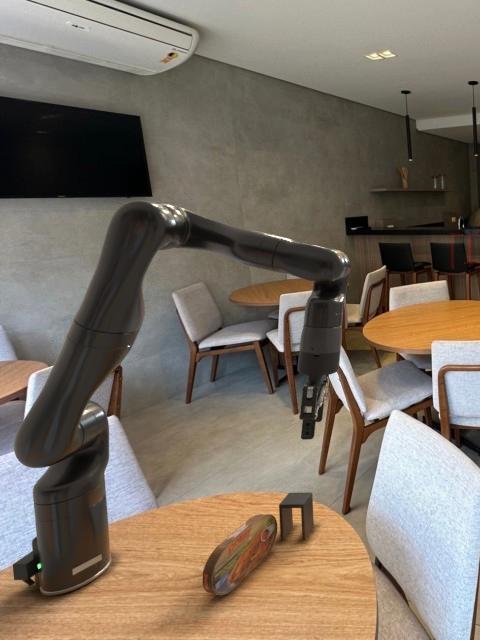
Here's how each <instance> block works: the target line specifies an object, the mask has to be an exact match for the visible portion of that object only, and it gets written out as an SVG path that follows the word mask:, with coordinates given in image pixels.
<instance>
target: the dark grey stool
mask: <svg viewBox="0 0 480 640" xmlns="http://www.w3.org/2000/svg"><path fill="white" fill-rule="evenodd" d="M313 497H314V496H313V492H310V491H309V492H288V493H287V494H286V496H284V498H283V499H282V501H280V502H279V504H278V514H279V533H280V535H279V537H280V541H281V542H283V541H285V540H286V538H287V536H288V535H289V533H290V532H291V531H292V530H293V528H294V520H293V509H300V515H301V516H300V518H301V519H300V520H301V539H302V541H306V539H308V536H309V535H310V533H311V532H312V530H313V529H314V528H315V527H314V526H315V525H314V523H315V522H314V499H313Z"/></svg>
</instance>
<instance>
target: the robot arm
mask: <svg viewBox="0 0 480 640" xmlns="http://www.w3.org/2000/svg"><path fill="white" fill-rule="evenodd" d="M171 249H185V250H198V251H204V252H207V253H208V252H209V253H213V254H217V255H220V256H223V257H226V258H228V259H231V260H233V261H235V262H237V263H239V264H243V265H246V266H249V267H251V268H257V269H261V270H266V271H270V272H275V273H281V274H287V275H290V276H293V277H296V278H300V279H302V280H306V281H309V282H313V284H312V289H311V293H310V296H309V297H308V298H307V300H306V303H305V309H304V317H303V326H302V331H301V333H300V340H299V350H298V359H297V369H296V370H297V372H298V373H299V374H300V375H304V376H305V375H306V376H307V377H308V378H307V380H306V382H304V385H303V387H302V395H301V404H300V411H299V412H300V413H299V416H298V417H299V420H301V421H302V423H301V432H300V439H301V440H313V439H314V437H315V433H316V426H317V425H316V424H317V423H321V422H322V421H323V417H324V408H325V403H326V401H327V396H329V395H328V392H329V384H330V378H329V376H330V375H334V374H335V373H337V372H338V371H339V370H340V361H341V360H340V359H341V350H342V343H343V342H342V340H343V319H344V318H343V317H344V304H345V299H346V294H347V290H348V285H349V281H350V276H351V261H350V258H349V256H348V255H347V254H346V253H345V252H344V251H342V250H340V249H337V248H331V247H326V246H319V245H315V244H309V243H304V242H299V241H298V240H296V239H293V238H289V237H286V236H281V235H277V234H274V233H268V232H264V231H260V230H255V229H250V228H245V227H241V226H235V225H231V224H227V223H224V222H221V221H219V220H218V221H217V220H214V219H211V218H209V217H206V216H204V215H201V214H198V213H197V212H193V211H191V210H188V209H186V208H184V207H181V206H180V205H176V204H175V203H171V202H167V201H160V200H159V201H158V200H146V199H137V200H130V201H127V202H126V203H123V204H122V205H120V206H119V207H118V208H117V209H116V210H115V212H113V214H112V216H111V218H110V220H109V223H108V226H107V229H106V232H105V236H104V240H103V243H102V246H101V251H100V254H99V257H98V261H97V264H96V267H95V270H94V272H93V275H92V277H91V279H90V281H89V284H88V287H87V288H86V291H85V294H84V297H83V299H82V301H81V303H80V305H79V307H78V309H77V310H76V313H75V315H74V317H73V319H72V321H71V324H70V327H69V328H68V332H67V333H66V335H65V338H64V341H63V344H62V346H61V349H60V351H59V353H58V355H57V356H56V359H55V361H54V363H53V365H52V368H51V369H50V372H49V374H48V376H47V379H46V381H45V383H44V385H43V387H42V389H41V391H40V392H39V394H38V396H37V397H36V399H35V401H34V402H33V404H32V405H31V408H30V409H29V411H28V412H27V413H26V415H25V416H24V419H23V420H22V422H21V424H20V425H19V428H18V429H17V431H16V434H15V436H14V439H13V452H14V455H15V458H16V459H17V460H18V462H19V463H21V464H22V466H25V467H27V468H30V469H43V468H47V469H46V470H45V472H44V473H43V474H41V476H40V477H39V479H37V481H36V482H35V484H34V486H33V488H32V501H33V510H34V521H35V522H34V523H35V533H36V536H35V537H33V539H32V540H31V549H32V551H30V552H29V553H27V554H26V555H24V556H23V557H21V558H20V559H18V560H17V561H16V562H14V563H13V564H12V572H13V580H14V581H22V582H24V583H25V584H26V585H28V586H29V587H31V586H33V585H34V584H35V589H36V590H39V591H40V593H41V595H43V596H47V597H53V596H60V595H65V594H67V593H70V592H73V591H75V590H78V589H80V588H83V587H84V586H86V585H88V584H90V583H91V582H93V581H95V580H96V579H98V578H99V577H100V576H102V575H103V574H104V573H105V572H106V571H107V570H108V569H109V567H110V566H111V564H112V560H113V558H112V554H111V543H110V528H109V515H108V502H107V500H108V499H107V490H106V489H107V487H106V477H105V472H106V469H107V467H108V465H109V461H110V423H109V418H108V415H107V412H106V411H105V409H104V407H102V405H100V404H99V403H97V402H96V401H94V400H91V399H92V397H93V396H94V394H95V393H96V392H97V390H98V389H99V388H100V387H101V386H102V385H103V384H104V382H105V381H106V380H108V378H109V377H110V376H111V375H112V373H114V372H115V370H116V369H117V368H118V367H119V366H120V365H121V363H122V362H123V361H124V360H125V358H126V357H127V356H128V354H129V353H130V351H131V350H132V348H133V346H134V344H135V342H136V340H137V337H138V335H139V333H140V331H141V329H142V325H143V323H144V320H145V315H146V313H145V312H146V307H145V300H144V291H143V286H144V279H145V277H146V274H147V272H148V269H149V267H150V266H151V263H152V261H153V259H154V258H155V256H156V255H157V253H158V252H159V251H165V250H171ZM308 408H311V410H310V412H308ZM33 577H34V579H32V578H33Z"/></svg>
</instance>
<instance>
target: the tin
mask: <svg viewBox="0 0 480 640" xmlns="http://www.w3.org/2000/svg"><path fill="white" fill-rule="evenodd" d="M277 535H278V521H277V518H276V517H275V515H274V514H271V513H268V514H265V513H264V514H261V513H260V514H255V515H253V516H251V517H250V518H249V519H247V520H246V521H245V522H243V524H242V525H240V526H239V527H238V528H237V529H236V530H235V531H234V532H232V533H231V534H230V535H229V536H228V537H227V538H225V539H224V540H223V541H222V542H221V543H220V544H218V545H217V546H216V547H215V548H214V549H213V551H212V552H211V553H210V555H209V556H208V558H207V560H206V562H205V565H204V567H203V570H202V586H203V589H204V592H206V593H208V594H214V595H217V596H225V595H227V594H229V593H230V592H232V591H233V590H234V589H236V588H237V587H238V586H239V585H240V584H241V583H242V582H243V580H245V578H246V577H247V576H248V575H249V574H250V573H251V572H252V571H254V569H256V567H258V565H260V563H261V562H262V561H263V560H264V559H265V558H266V557H267V556H268V555H269V554H270V552H271V550H272V548H273V547H274V544H275V541H276V540H277V539H276V538H277Z"/></svg>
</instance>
